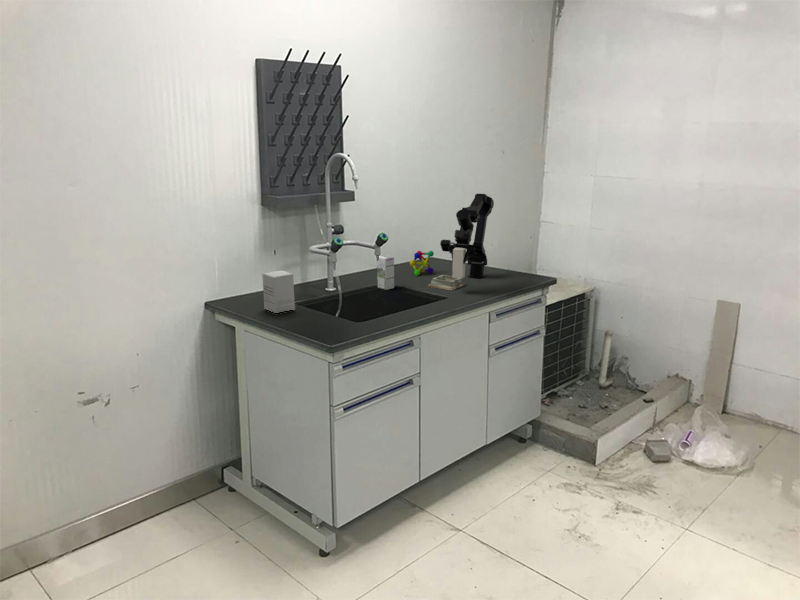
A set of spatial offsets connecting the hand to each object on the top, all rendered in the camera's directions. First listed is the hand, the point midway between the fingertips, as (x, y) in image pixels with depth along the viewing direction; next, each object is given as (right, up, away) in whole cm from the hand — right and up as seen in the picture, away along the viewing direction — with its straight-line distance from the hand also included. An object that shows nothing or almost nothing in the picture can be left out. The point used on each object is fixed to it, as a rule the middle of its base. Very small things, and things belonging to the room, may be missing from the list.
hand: (458, 262), depth 272 cm
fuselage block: (0, -6, +3) cm, 7 cm away
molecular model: (-14, -3, +39) cm, 42 cm away
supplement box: (-73, -20, -24) cm, 79 cm away
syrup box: (-32, -11, +12) cm, 35 cm away
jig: (-4, -10, +16) cm, 19 cm away
